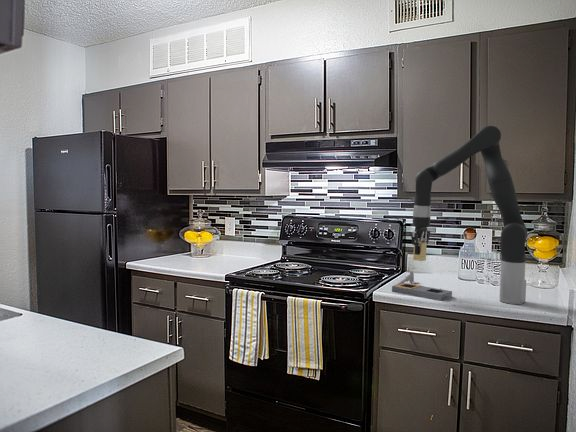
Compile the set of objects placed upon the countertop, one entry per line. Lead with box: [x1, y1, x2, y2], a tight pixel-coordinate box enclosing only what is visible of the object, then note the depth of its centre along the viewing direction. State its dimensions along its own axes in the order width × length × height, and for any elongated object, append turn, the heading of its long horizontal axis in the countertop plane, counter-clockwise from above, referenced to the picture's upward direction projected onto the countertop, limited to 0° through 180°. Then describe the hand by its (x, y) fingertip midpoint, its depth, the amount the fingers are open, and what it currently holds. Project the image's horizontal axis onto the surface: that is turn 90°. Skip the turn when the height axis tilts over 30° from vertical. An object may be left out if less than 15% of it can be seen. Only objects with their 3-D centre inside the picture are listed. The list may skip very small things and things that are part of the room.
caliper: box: [394, 270, 415, 285], centre depth 227 cm, size 20×1×6 cm, turn 139°
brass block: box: [412, 241, 427, 262], centre depth 208 cm, size 4×4×8 cm
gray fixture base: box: [391, 282, 453, 302], centre depth 209 cm, size 24×10×3 cm, turn 46°
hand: (419, 253), depth 208 cm, fingers closed on brass block, 4 cm apart
